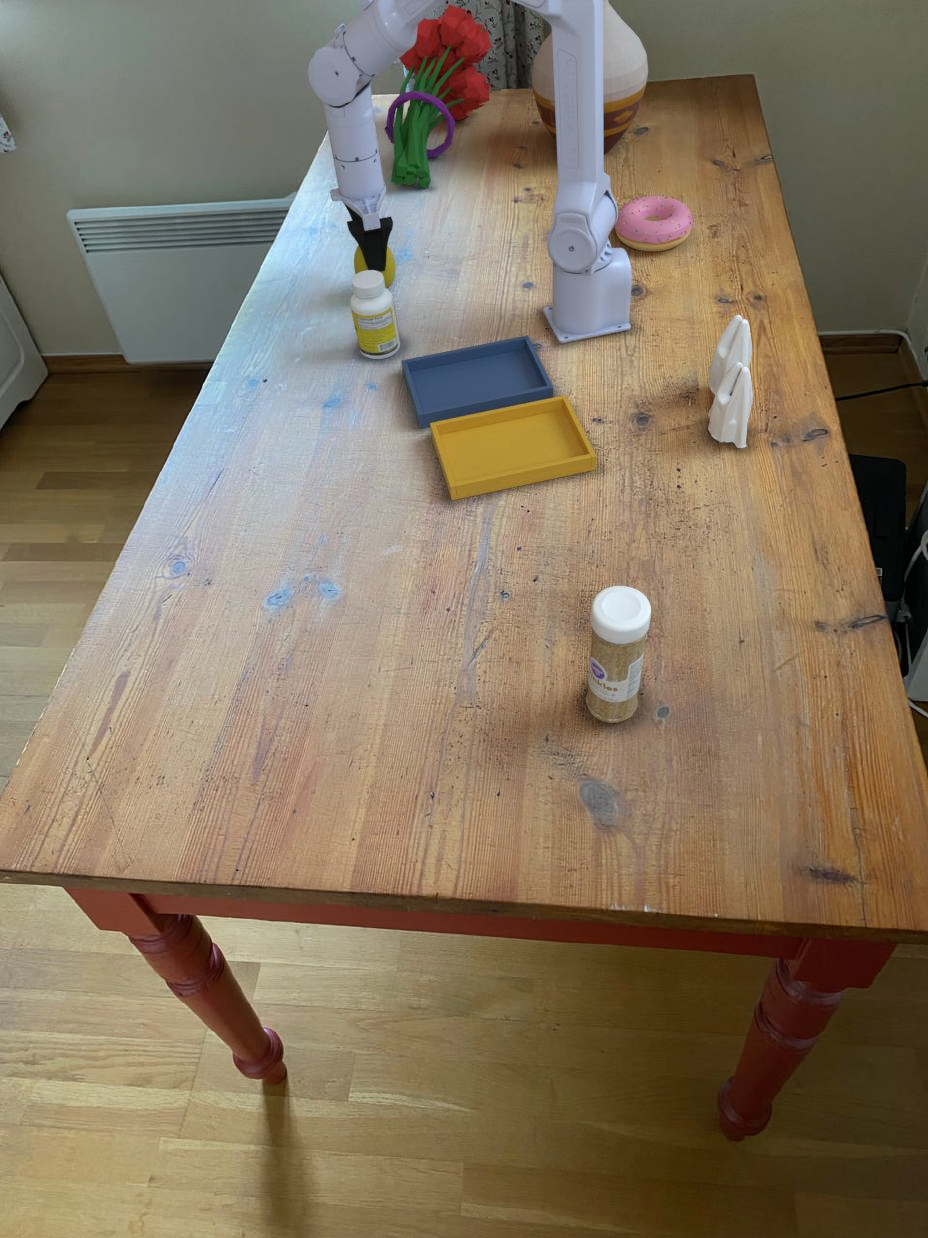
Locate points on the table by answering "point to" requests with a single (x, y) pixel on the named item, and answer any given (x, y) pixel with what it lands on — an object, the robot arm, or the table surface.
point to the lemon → (387, 274)
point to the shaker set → (731, 384)
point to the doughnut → (653, 223)
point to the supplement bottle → (374, 315)
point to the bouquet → (436, 90)
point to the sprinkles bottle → (616, 652)
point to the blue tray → (475, 380)
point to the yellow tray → (511, 447)
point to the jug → (620, 78)
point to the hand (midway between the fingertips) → (372, 256)
